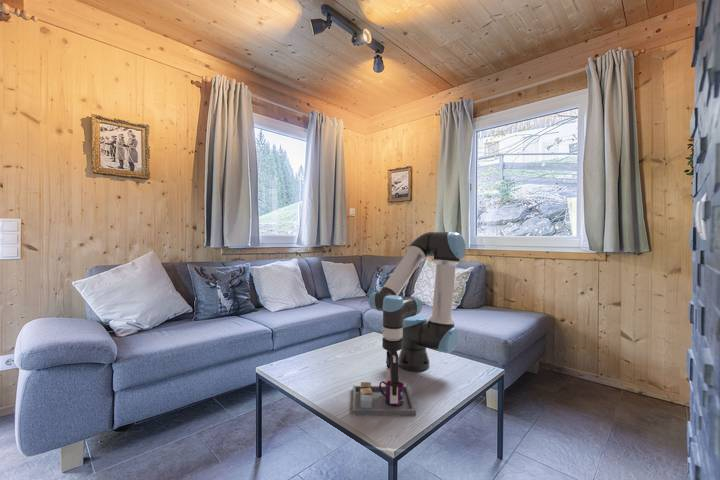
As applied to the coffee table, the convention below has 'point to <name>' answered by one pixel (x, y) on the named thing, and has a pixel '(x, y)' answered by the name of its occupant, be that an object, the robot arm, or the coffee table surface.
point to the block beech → (365, 392)
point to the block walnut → (365, 385)
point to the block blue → (366, 401)
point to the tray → (382, 403)
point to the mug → (387, 395)
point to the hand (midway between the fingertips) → (391, 393)
